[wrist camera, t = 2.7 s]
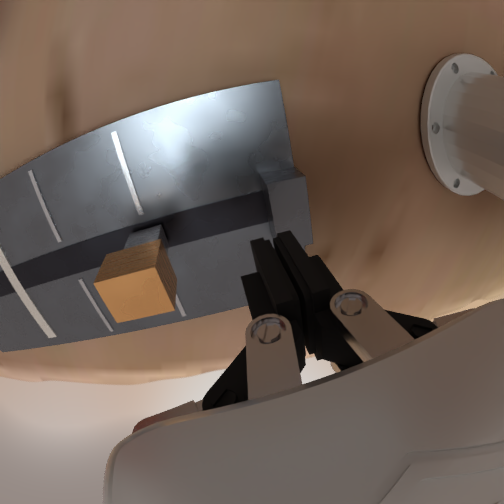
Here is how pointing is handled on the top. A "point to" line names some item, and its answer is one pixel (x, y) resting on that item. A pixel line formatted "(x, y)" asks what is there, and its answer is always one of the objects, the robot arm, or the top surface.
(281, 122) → the grey slider board
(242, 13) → the top surface
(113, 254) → the fader tab
